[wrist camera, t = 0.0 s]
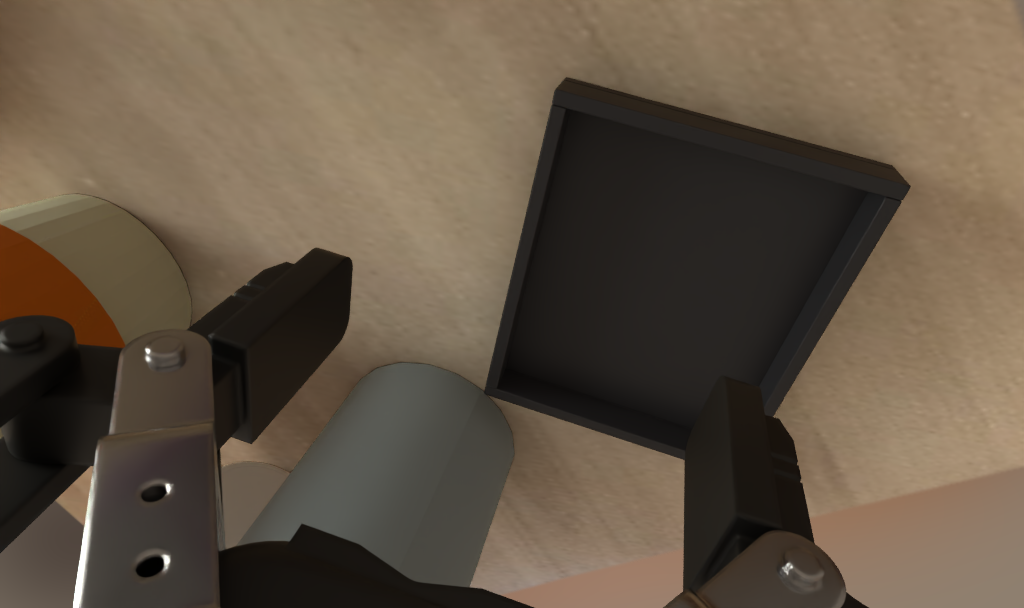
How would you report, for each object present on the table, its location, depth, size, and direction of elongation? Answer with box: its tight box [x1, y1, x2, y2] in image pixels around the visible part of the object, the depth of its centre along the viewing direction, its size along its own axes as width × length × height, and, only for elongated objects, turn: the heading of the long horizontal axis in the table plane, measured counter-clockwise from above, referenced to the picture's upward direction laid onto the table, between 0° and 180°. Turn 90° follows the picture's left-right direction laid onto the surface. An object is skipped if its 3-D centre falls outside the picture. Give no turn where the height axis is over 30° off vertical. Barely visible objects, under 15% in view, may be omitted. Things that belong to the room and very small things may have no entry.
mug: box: [221, 462, 290, 549], centre depth 34 cm, size 12×9×8 cm
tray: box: [484, 78, 910, 460], centre depth 23 cm, size 13×11×2 cm
